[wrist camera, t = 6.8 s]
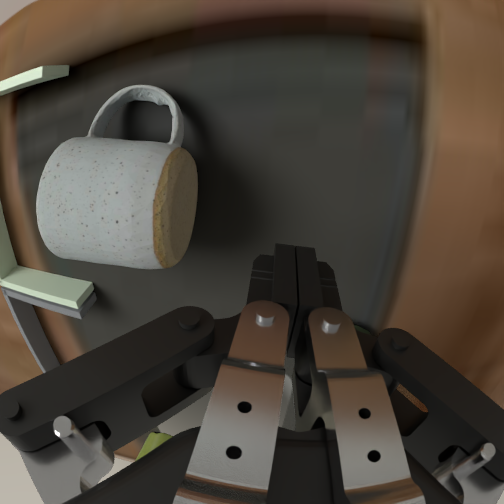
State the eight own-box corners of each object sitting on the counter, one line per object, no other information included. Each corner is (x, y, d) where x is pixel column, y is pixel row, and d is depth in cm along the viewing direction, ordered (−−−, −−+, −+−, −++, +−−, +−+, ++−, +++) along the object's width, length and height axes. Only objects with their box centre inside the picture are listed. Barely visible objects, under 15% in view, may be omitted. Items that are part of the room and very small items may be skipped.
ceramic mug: (202, 239, 21) (165, 306, 15) (104, 226, 22) (45, 278, 15) (211, 85, 16) (162, 77, 10) (99, 89, 17) (21, 97, 10)
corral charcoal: (95, 292, 25) (79, 312, 23) (134, 404, 35) (127, 421, 33) (16, 273, 26) (1, 288, 24) (66, 381, 36) (57, 395, 33)
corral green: (69, 65, 16) (42, 66, 13) (94, 289, 25) (78, 309, 23) (-15, 93, 16) (-37, 99, 14) (15, 270, 26) (-1, 284, 23)
